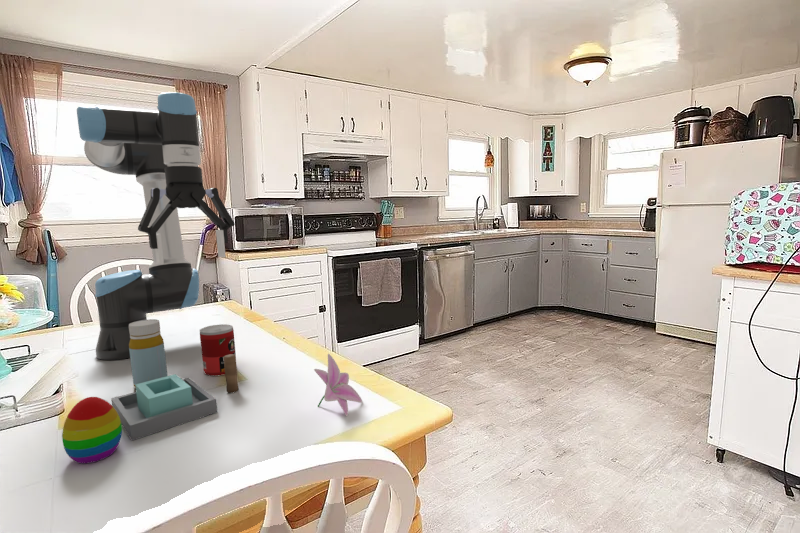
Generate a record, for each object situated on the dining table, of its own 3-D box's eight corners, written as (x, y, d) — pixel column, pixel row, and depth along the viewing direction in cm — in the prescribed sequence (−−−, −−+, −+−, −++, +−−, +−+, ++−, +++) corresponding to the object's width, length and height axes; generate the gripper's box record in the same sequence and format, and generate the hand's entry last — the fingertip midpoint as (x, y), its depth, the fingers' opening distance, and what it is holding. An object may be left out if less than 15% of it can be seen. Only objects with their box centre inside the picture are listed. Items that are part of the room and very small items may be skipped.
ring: (151, 424, 83) (148, 399, 83) (136, 405, 92) (133, 382, 91) (193, 411, 88) (191, 386, 88) (175, 394, 97) (173, 372, 96)
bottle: (174, 380, 107) (168, 319, 105) (150, 392, 100) (142, 327, 98) (152, 378, 109) (145, 318, 107) (126, 389, 103) (119, 325, 101)
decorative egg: (52, 466, 72) (44, 407, 71) (97, 440, 80) (90, 386, 79) (94, 471, 70) (86, 410, 69) (135, 444, 78) (129, 389, 77)
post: (225, 390, 100) (221, 356, 99) (236, 387, 101) (232, 353, 100) (229, 394, 98) (226, 358, 97) (240, 390, 100) (237, 355, 99)
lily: (316, 433, 82) (340, 390, 80) (284, 393, 89) (305, 352, 87) (360, 427, 91) (382, 388, 89) (328, 391, 98) (348, 354, 97)
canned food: (225, 377, 108) (221, 332, 107) (196, 375, 110) (192, 332, 108) (243, 365, 116) (239, 324, 114) (215, 364, 117) (211, 323, 116)
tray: (112, 411, 91) (111, 398, 91) (189, 389, 101) (188, 377, 101) (132, 440, 79) (130, 425, 79) (217, 412, 89) (216, 398, 89)
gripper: (122, 162, 89) (135, 267, 92) (243, 166, 106) (251, 255, 109) (115, 165, 95) (126, 265, 98) (231, 169, 112) (238, 253, 114)
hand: (192, 260), depth 103 cm, fingers open, 13 cm apart
